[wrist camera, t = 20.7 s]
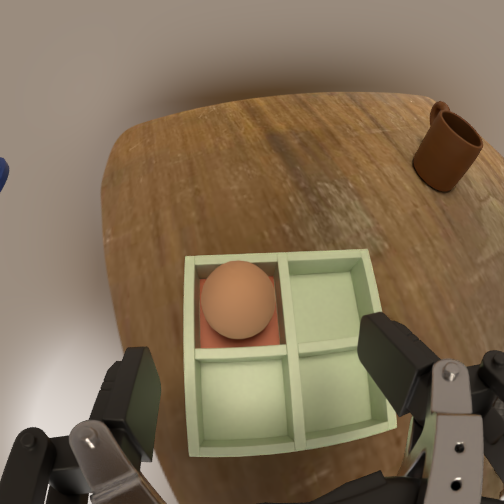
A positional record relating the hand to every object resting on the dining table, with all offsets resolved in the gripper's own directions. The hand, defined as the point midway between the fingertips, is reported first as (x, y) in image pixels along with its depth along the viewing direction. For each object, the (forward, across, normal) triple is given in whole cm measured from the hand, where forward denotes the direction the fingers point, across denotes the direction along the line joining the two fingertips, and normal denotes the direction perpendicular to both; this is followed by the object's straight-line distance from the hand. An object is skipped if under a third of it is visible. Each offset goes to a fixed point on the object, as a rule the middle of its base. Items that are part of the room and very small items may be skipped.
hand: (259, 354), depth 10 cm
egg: (+12, 0, +6) cm, 13 cm away
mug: (+25, -31, -6) cm, 40 cm away
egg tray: (+10, -3, +8) cm, 14 cm away
